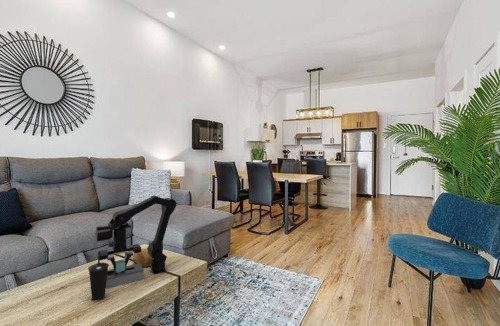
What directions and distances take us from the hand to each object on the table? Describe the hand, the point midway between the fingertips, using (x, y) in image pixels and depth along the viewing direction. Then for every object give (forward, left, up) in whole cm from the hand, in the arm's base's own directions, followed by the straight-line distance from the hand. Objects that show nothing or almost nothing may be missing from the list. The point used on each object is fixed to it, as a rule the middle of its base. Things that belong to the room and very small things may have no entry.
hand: (119, 268), depth 124 cm
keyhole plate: (-1, 0, -6) cm, 6 cm away
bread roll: (-14, -15, -6) cm, 22 cm away
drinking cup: (+10, +11, -6) cm, 16 cm away
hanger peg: (0, 0, -4) cm, 4 cm away
